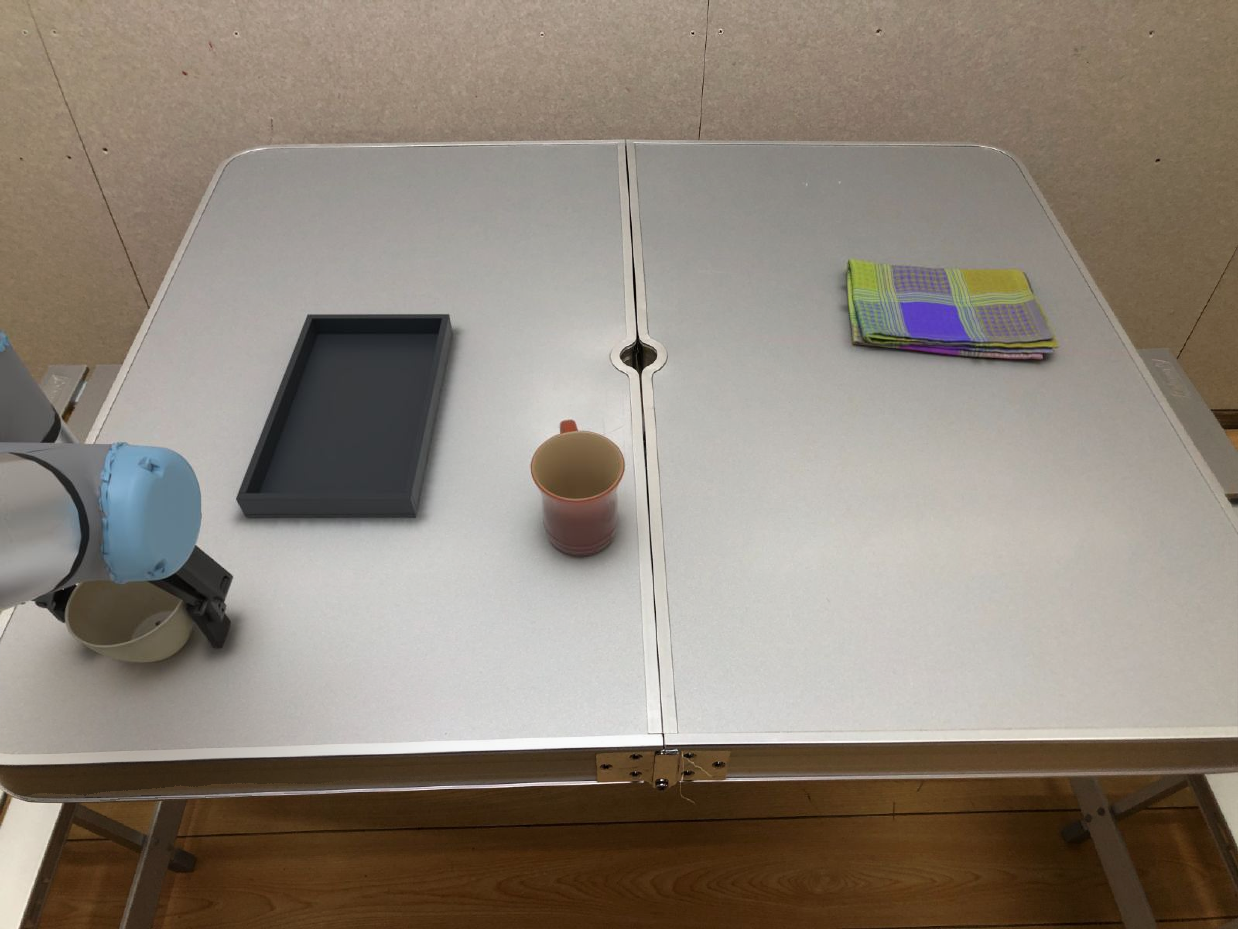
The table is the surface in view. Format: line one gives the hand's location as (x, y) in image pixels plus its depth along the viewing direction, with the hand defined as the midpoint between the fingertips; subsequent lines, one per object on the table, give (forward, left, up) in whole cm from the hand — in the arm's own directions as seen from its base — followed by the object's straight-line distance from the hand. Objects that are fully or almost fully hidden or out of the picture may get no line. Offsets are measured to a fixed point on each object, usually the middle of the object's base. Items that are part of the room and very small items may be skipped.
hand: (160, 635), depth 77 cm
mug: (+38, -14, 0) cm, 40 cm away
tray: (+28, +14, 0) cm, 31 cm away
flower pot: (0, 0, 0) cm, 0 cm away
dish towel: (+95, -18, 0) cm, 97 cm away
